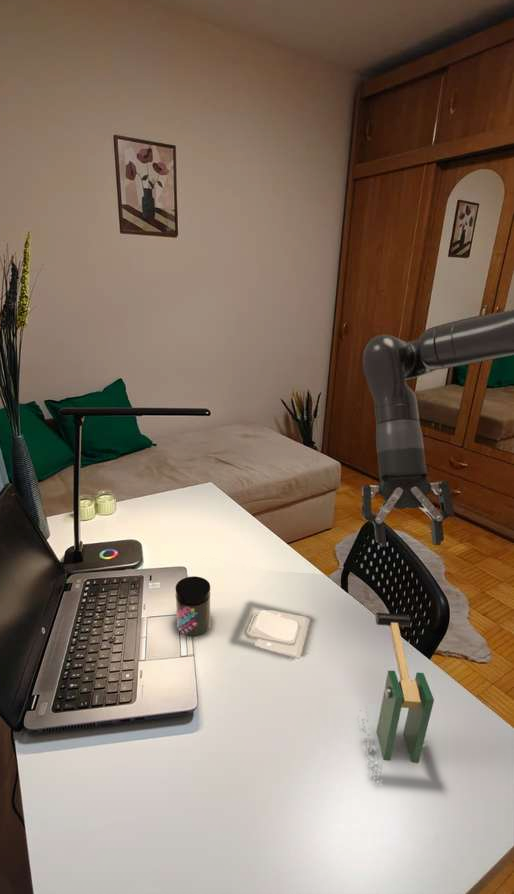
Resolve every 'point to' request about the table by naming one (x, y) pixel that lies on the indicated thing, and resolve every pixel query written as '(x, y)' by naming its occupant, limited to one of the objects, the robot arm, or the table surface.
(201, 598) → the supplement container
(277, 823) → the table surface
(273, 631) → the light switch
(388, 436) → the robot arm
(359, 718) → the table surface
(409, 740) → the bracket
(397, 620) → the lever
